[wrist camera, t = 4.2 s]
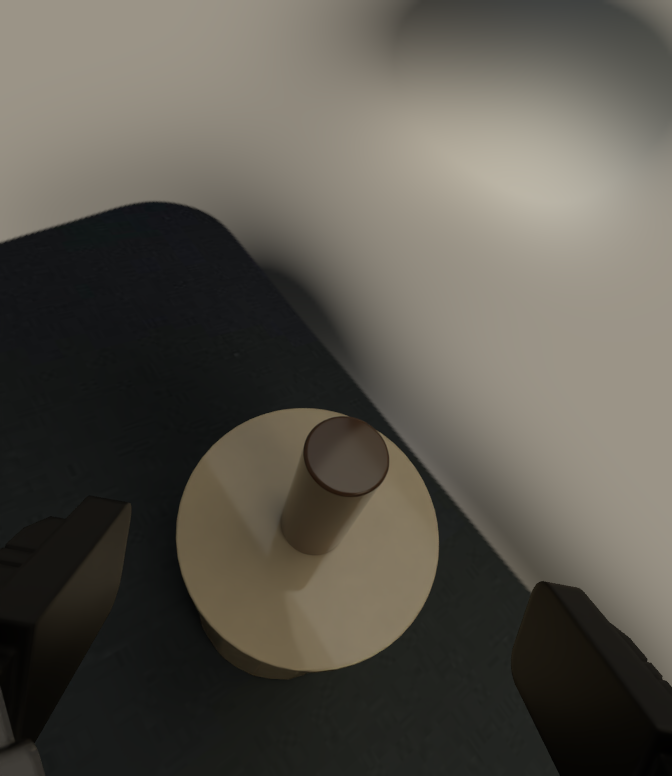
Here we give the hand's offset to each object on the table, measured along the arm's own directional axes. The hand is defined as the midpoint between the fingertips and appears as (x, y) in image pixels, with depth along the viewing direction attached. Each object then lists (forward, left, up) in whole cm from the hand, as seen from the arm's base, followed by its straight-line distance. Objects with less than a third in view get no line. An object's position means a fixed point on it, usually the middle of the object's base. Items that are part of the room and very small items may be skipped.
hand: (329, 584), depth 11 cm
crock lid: (+1, -3, -6) cm, 6 cm away
